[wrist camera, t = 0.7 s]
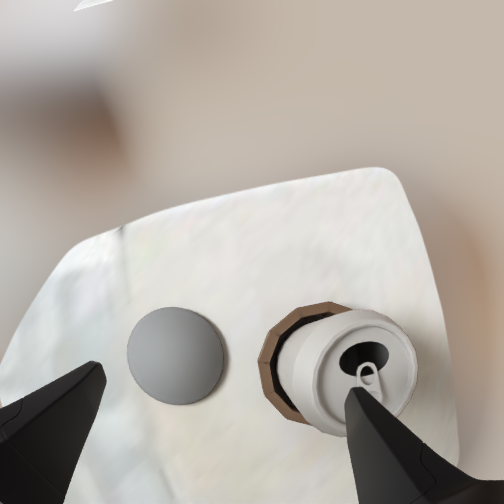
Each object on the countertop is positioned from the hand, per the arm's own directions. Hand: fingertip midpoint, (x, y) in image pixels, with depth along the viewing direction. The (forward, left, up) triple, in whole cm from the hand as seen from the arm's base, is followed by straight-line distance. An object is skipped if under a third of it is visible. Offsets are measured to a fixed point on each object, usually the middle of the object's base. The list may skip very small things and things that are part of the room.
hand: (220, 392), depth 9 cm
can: (-5, -5, -16) cm, 17 cm away
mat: (+4, +4, -15) cm, 16 cm away
